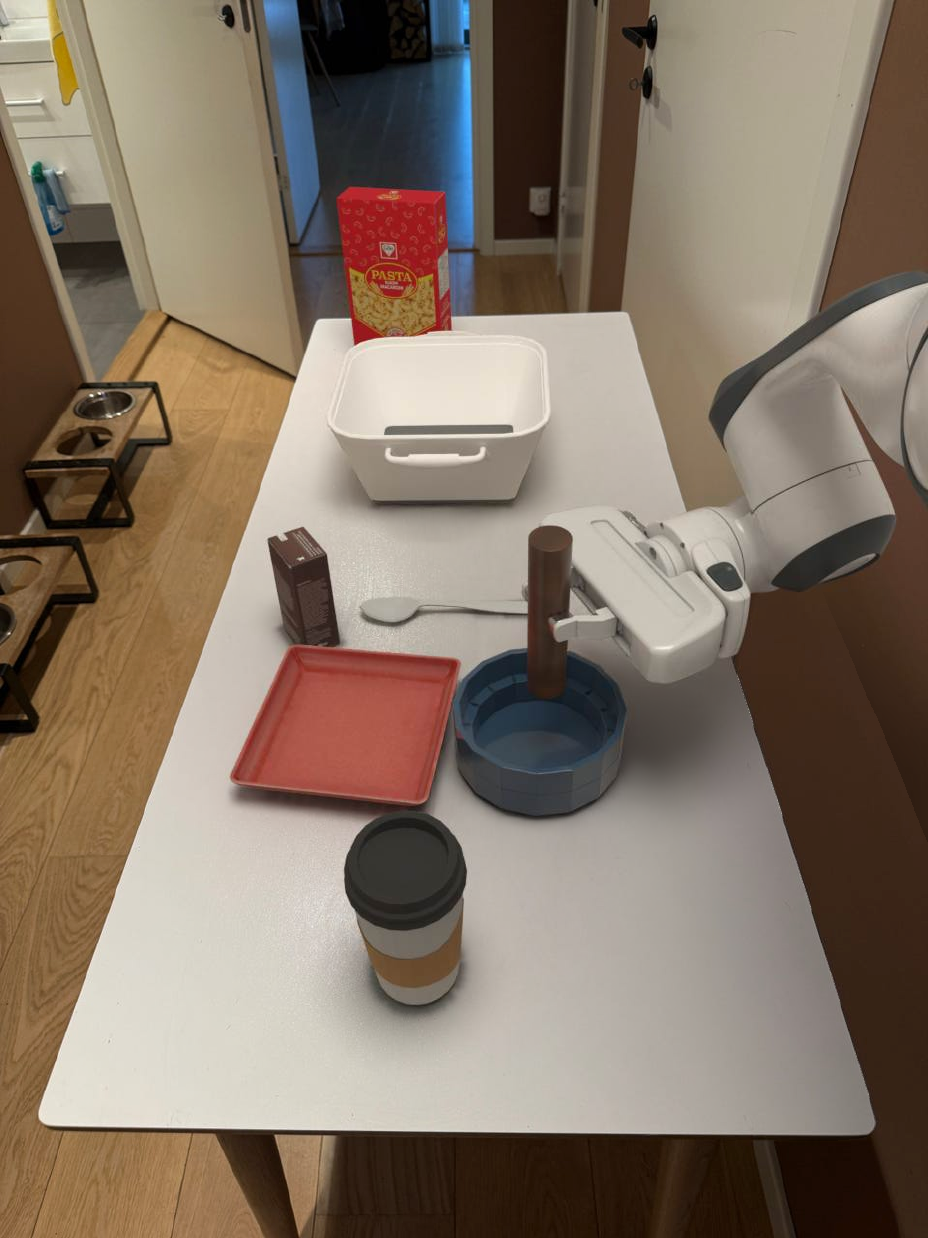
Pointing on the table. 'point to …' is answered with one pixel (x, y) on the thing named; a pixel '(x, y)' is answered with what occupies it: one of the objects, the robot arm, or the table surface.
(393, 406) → the tub
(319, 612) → the box
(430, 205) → the food packaging
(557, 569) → the brown cylinder
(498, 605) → the spoon
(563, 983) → the table surface
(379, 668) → the plant saucer
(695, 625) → the robot arm
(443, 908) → the coffee cup
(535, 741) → the bowl
